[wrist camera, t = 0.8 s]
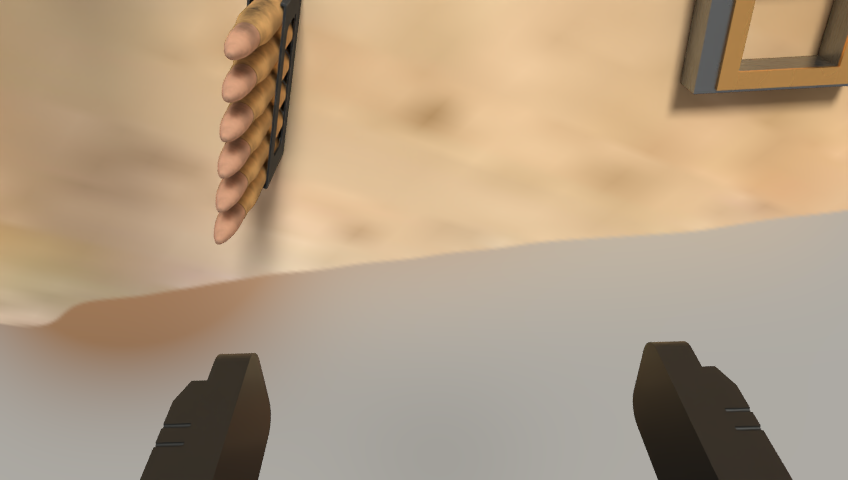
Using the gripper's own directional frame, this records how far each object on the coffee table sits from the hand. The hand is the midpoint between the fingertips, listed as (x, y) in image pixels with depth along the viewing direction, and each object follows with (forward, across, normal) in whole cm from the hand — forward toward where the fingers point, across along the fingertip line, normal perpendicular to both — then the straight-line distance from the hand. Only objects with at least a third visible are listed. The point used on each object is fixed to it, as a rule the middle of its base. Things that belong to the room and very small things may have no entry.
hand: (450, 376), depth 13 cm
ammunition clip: (+27, +9, +2) cm, 28 cm away
